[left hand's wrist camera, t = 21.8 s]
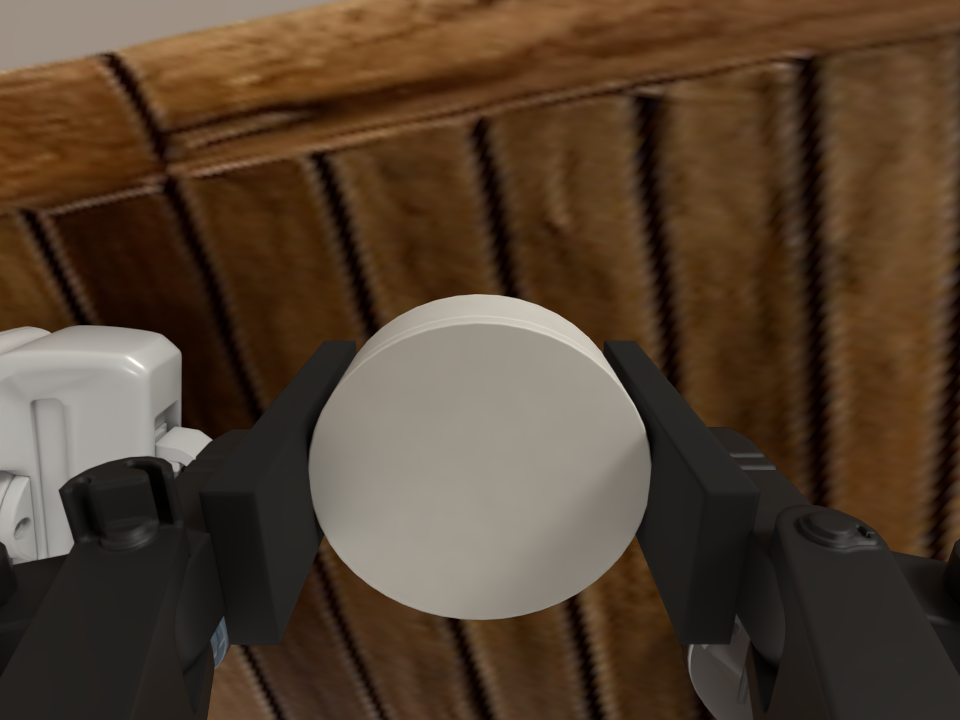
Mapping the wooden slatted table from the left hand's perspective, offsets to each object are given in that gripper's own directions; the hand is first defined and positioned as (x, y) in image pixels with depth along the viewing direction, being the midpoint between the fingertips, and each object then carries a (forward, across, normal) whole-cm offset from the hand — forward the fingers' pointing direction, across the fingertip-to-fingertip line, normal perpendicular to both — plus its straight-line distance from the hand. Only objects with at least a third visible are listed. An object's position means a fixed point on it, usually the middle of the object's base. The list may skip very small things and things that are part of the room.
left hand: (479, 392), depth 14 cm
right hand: (+13, +13, +14) cm, 23 cm away
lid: (-4, 0, 0) cm, 4 cm away
